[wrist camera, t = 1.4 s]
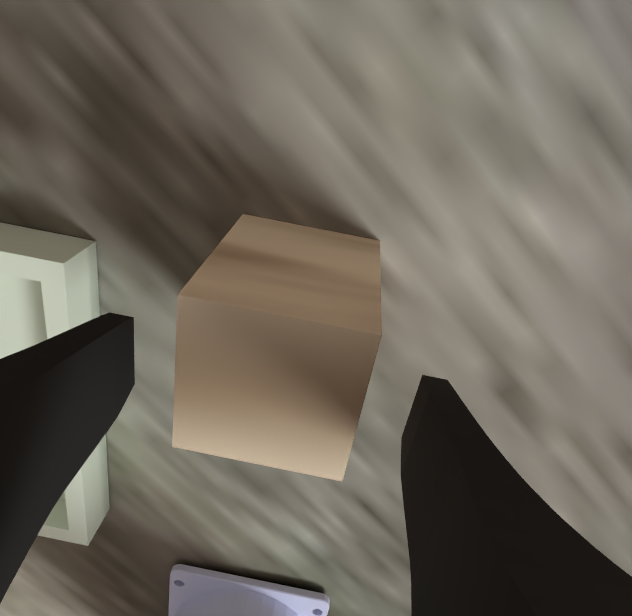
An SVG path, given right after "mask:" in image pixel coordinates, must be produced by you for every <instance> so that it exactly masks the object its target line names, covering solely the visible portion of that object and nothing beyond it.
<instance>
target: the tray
mask: <svg viewBox="0 0 632 616" xmlns="http://www.w3.org/2000/svg"><path fill="white" fill-rule="evenodd" d="M99 316H100V309H99V290H98V270H97V251H96V241H92V240H87V239H82V238H77V237H72V236H67V235H62V234H57V233H52V232H46V231H41V230H36V229H31V228H26V227H21V226H16V225H11V224H6V223H1V222H0V359H1V358H3V357H6V356H8V355H11V354H13V353H16V352H19V351H21V350H24V349H26V348H29V347H31V346H33V345H36V344H38V343H40V342H43V341H45V340H47V339H49V338H52V337H54V336H56V335H58V334H61V333H63V332H65V331H67V330H70V329H72V328H74V327H76V326H78V325H81V324H83V323H85V322H87V321H90V320H92V319H94V318H97V317H99ZM109 509H110V504H109V484H108V465H107V445H106V434H105V435H104V437H103V438H102V439H101V441H100V442H99V444H98V445H97V446H96V448H95V449H94V451H93V452H92V453H91V455H90V456H89V458H88V459H87V460H86V462H85V463H84V464H83V466H82V467H81V469H80V470H79V471H78V473H77V474H76V476H75V477H74V478H73V480H72V481H71V482H70V484H69V485H68V487H67V488H66V489H65V491H64V492H63V494H62V495H61V497H60V498H59V500H58V501H57V503H56V504H55V506H54V507H53V509H52V511H51V512H50V514H49V516H48V518H47V519H46V521H45V523H44V525H43V526H42V528H41V530H40V532H39V533H38V536H43V537H47V538H52V539H57V540H62V541H67V542H72V543H76V544H81V545H86V546H88V545H89V543H90V542H91V540H92V538H93V537H94V535H95V533H96V531H97V530H98V528H99V526H100V524H101V523H102V521H103V519H104V518H105V516H106V514H107V512H108V511H109Z"/></svg>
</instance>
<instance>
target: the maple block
mask: <svg viewBox="0 0 632 616" xmlns="http://www.w3.org/2000/svg"><path fill="white" fill-rule="evenodd" d="M381 336H382V324H381V276H380V241H379V240H374V239H369V238H364V237H358V236H353V235H348V234H343V233H338V232H333V231H328V230H323V229H317V228H312V227H307V226H302V225H297V224H292V223H287V222H282V221H277V220H271V219H266V218H261V217H256V216H251V215H246V214H243V215H242V216H241V217H240V218H239V219H238V221H237V222H236V223H235V224H234V226H233V227H232V228H231V229H230V231H229V232H228V233H227V234H226V236H225V237H224V238H223V239H222V240H221V242H220V243H219V244H218V245H217V247H216V248H215V249H214V250H213V252H212V253H211V254H210V255H209V257H208V258H207V259H206V260H205V262H204V263H203V264H202V265H201V266H200V268H199V269H198V270H197V271H196V273H195V274H194V275H193V276H192V278H191V279H190V280H189V281H188V283H187V284H186V285H185V286H184V287H183V289H182V290H181V291H180V292H179V294H178V302H177V331H176V359H175V387H174V415H173V443H172V447H176V448H181V449H186V450H191V451H196V452H201V453H206V454H211V455H216V456H221V457H225V458H230V459H235V460H240V461H245V462H250V463H255V464H260V465H265V466H269V467H274V468H279V469H284V470H289V471H294V472H299V473H304V474H309V475H314V476H318V477H323V478H328V479H333V480H338V481H343V477H344V473H345V470H346V466H347V462H348V458H349V455H350V451H351V447H352V444H353V440H354V436H355V432H356V429H357V425H358V421H359V418H360V414H361V410H362V406H363V403H364V399H365V395H366V392H367V388H368V384H369V381H370V377H371V373H372V369H373V366H374V362H375V358H376V355H377V351H378V347H379V343H380V340H381Z"/></svg>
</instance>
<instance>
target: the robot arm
mask: <svg viewBox="0 0 632 616" xmlns="http://www.w3.org/2000/svg"><path fill="white" fill-rule="evenodd" d="M134 384H135V377H134V317H129V316H124V315H119V314H114V313H107V314H104V315H102V316H99V317H97V318H94V319H92V320H90V321H87V322H85V323H83V324H81V325H78V326H76V327H74V328H72V329H70V330H67V331H65V332H63V333H61V334H58V335H56V336H54V337H52V338H49V339H47V340H45V341H43V342H40V343H38V344H36V345H33V346H31V347H29V348H26V349H24V350H21V351H19V352H16V353H13V354H11V355H8V356H6V357H3V358H1V359H0V603H1V601H2V599H3V597H4V595H5V593H6V591H7V590H8V588H9V586H10V584H11V582H12V580H13V578H14V577H15V575H16V573H17V571H18V569H19V567H20V566H21V564H22V562H23V560H24V558H25V556H26V555H27V553H28V551H29V549H30V547H31V545H32V544H33V542H34V540H35V539H36V537H37V535H38V533H39V532H40V530H41V528H42V526H43V525H44V523H45V521H46V519H47V518H48V516H49V514H50V512H51V511H52V509H53V507H54V506H55V504H56V503H57V501H58V500H59V498H60V497H61V495H62V494H63V492H64V491H65V489H66V488H67V487H68V485H69V484H70V482H71V481H72V480H73V478H74V477H75V476H76V474H77V473H78V471H79V470H80V469H81V467H82V466H83V464H84V463H85V462H86V460H87V459H88V458H89V456H90V455H91V453H92V452H93V451H94V449H95V448H96V446H97V445H98V444H99V442H100V441H101V439H102V438H103V437H104V435H105V434H106V432H107V431H108V430H109V428H110V427H111V425H112V424H113V422H114V421H115V419H116V418H117V416H118V415H119V413H120V411H121V409H122V407H123V405H124V404H125V402H126V400H127V398H128V396H129V394H130V392H131V390H132V388H133V386H134ZM401 482H402V492H403V502H404V511H405V520H406V530H407V539H408V548H409V557H410V569H411V600H412V616H632V577H631V576H630V575H629V574H627V573H626V572H625V571H623V570H622V569H621V568H620V567H618V566H617V565H616V564H614V563H613V562H612V561H611V560H609V559H608V558H607V557H606V556H605V555H603V554H602V553H601V552H600V551H598V550H597V549H596V548H595V547H594V546H592V545H591V544H590V543H589V542H588V541H587V540H586V539H584V538H583V537H582V536H581V535H580V534H579V533H578V532H577V531H575V530H574V529H573V528H572V527H571V526H570V525H569V524H568V523H566V522H565V521H564V520H563V519H562V518H561V517H560V516H559V515H558V514H557V513H556V512H555V511H554V510H553V509H552V508H551V507H550V506H549V505H548V504H547V503H546V502H545V501H544V500H543V499H542V498H541V497H540V496H539V495H538V494H537V493H536V492H535V491H534V490H533V489H532V488H531V487H530V486H529V485H528V484H527V483H526V482H525V481H524V479H523V478H522V477H521V476H520V475H519V474H518V473H517V472H516V470H515V469H514V468H513V467H512V466H511V464H510V463H509V462H508V461H507V460H506V459H505V457H504V456H503V455H502V454H501V453H500V451H499V450H498V449H497V448H496V446H495V445H494V444H493V443H492V441H491V440H490V439H489V437H488V436H487V435H486V433H485V432H484V431H483V429H482V428H481V427H480V425H479V424H478V423H477V421H476V420H475V418H474V417H473V416H472V414H471V413H470V411H469V410H468V409H467V407H466V406H465V404H464V403H463V401H462V400H461V399H460V397H459V396H458V394H457V393H456V391H455V390H454V388H453V387H452V386H451V384H450V383H449V382H448V380H445V379H440V378H435V377H430V376H425V375H422V378H421V381H420V384H419V387H418V390H417V393H416V396H415V399H414V402H413V405H412V408H411V411H410V414H409V417H408V420H407V423H406V426H405V429H404V432H403V435H402V443H401ZM329 604H330V599H329V597H328V596H327V595H325V594H323V593H319V592H314V591H309V590H305V589H300V588H295V587H290V586H285V585H280V584H276V583H271V582H266V581H261V580H256V579H251V578H247V577H242V576H237V575H232V574H227V573H223V572H218V571H213V570H208V569H203V568H198V567H194V566H189V565H184V564H177V565H174V566H173V568H172V570H171V573H170V586H169V612H168V616H327V613H328V610H329Z"/></svg>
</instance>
